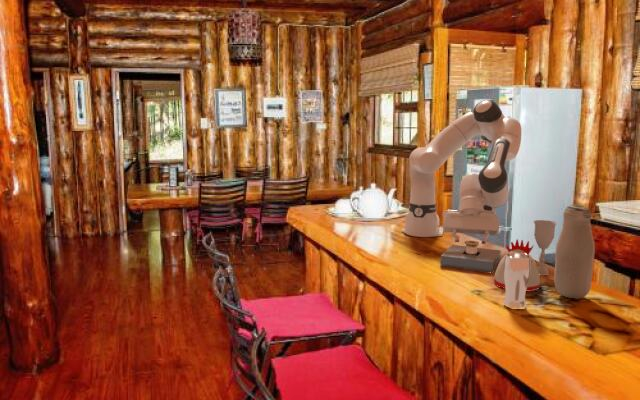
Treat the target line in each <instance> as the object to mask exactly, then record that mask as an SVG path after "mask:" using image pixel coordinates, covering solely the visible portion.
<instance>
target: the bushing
mask: <svg viewBox="0 0 640 400" xmlns="http://www.w3.org/2000/svg"><path fill="white" fill-rule="evenodd" d="M464 245H465V246H466V253H465V254H468V255H476V256H477V248H478V245H480V242H479V241H476V240H465V241H464Z"/></svg>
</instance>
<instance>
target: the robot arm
mask: <svg viewBox="0 0 640 400" xmlns="http://www.w3.org/2000/svg"><path fill="white" fill-rule="evenodd" d="M477 136H480V138H481V140H482V141H485V142H487V143H489V144H490V152H489V155H488V159H487V162H486V164H485V165H484V167H482V169H480V171H479V173H478V174H477V173H468V174H466V175H465V176H464V177H463V178H462V179H461V180H460V185H459V195H458V196H459V203H458V209H457V210H456V209H447V210H444V211H443V212H442V215H441V216H442V219H443V221H442V227H441V224H440V217H439V215H438V213H437V205H438V204H437V202H436V190H437V189H436V186H437V185H436V180H435V172H437V171H438V170H439V168H440V167H442V166H443V164H445V162H446V161H447V160H448V159H449V158H450V157H451V156H453V155H454V154H455V153H456V152H458V151H459V150H460V149H461V148H462V147H464V145H466V144H467V143H468V142H470V141H471V140H472V139H473V138H474V137H477ZM521 141H522V126H521V123H520V122H519V121H518V120H517V119H515V118H512V117H505V115H504V113H503V111H502V109H501V107H500V106H499V105H498V104H497V102H495V101H494V100H492V99H484V100H481V101H479V102H477V104H475V106H474V108H473V111H471V112H470V111H469V112H467V113H465V114H463V115H461V116H460V117H458V118H457V119H455V120H453V121H452V122H451V123H450V124H449V125H447V126H446V127H445V128H443V129H442V130H441V131H439V132H438V133H437V134H436V135H435V137H434V138H433V139H431V141H430V142H428V144H426V145H425V147H422V146H419V147H417V148H415V149H414V150H413V151H411V153H410V155H409V158H408V159H409V160H408V162H409V165H408V166H409V179H410V180H409V181H410V197H409V198H410V199H409V205H408V213H406V214H405V222H404V228H402V229H401V233H404V234H406V235H408V236H412V237H419V238H431V237H443V234H444V233H452V234H451V235H452V237H453V238H454V242H455V243H460V236H459V235H457V234H458V233H459V234H468V235H469V234H470V235H484V237H481V244H482V245H486V243H487V240H488V238H489V236H498V234H499V232H500V222H499V217H498V215H497V214H496V208H500V207H502V206H504V205H505V204H506V203H507V202H508V200H509V190H508V173H507V170H506V168H505V165H506V162H508V161H512V160H514V159H515V158H516V157H517V155H518V154H519V151H520V147H521Z"/></svg>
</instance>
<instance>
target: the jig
mask: <svg viewBox="0 0 640 400" xmlns="http://www.w3.org/2000/svg"><path fill="white" fill-rule="evenodd" d="M465 253H466V245H465V246H464V245H455V244H452V245H451V246H450V247H449V248H448V249H446V250H445V251H444V252H443V253H442V254H441V255H440V264H439V265H440V268H441V267H442V268H448V267H449V269H455V268H458V269H457V270H463V269H466V270H465V271H470V270H473V271H472V272H478V271H482V272H481V273H485V272H491V273H490V274H493V273H494V272H495V271H496V269H497V267H498V266H497V265H499V264H498V263H500V261H501V259H502V258H501V256H502V250H500V249H491V248H485V247H484V248H483V247H477V256H476V255H468V254H465ZM496 266H497V267H496ZM495 268H496V269H495ZM493 271H494V272H493ZM492 272H493V273H492Z"/></svg>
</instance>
